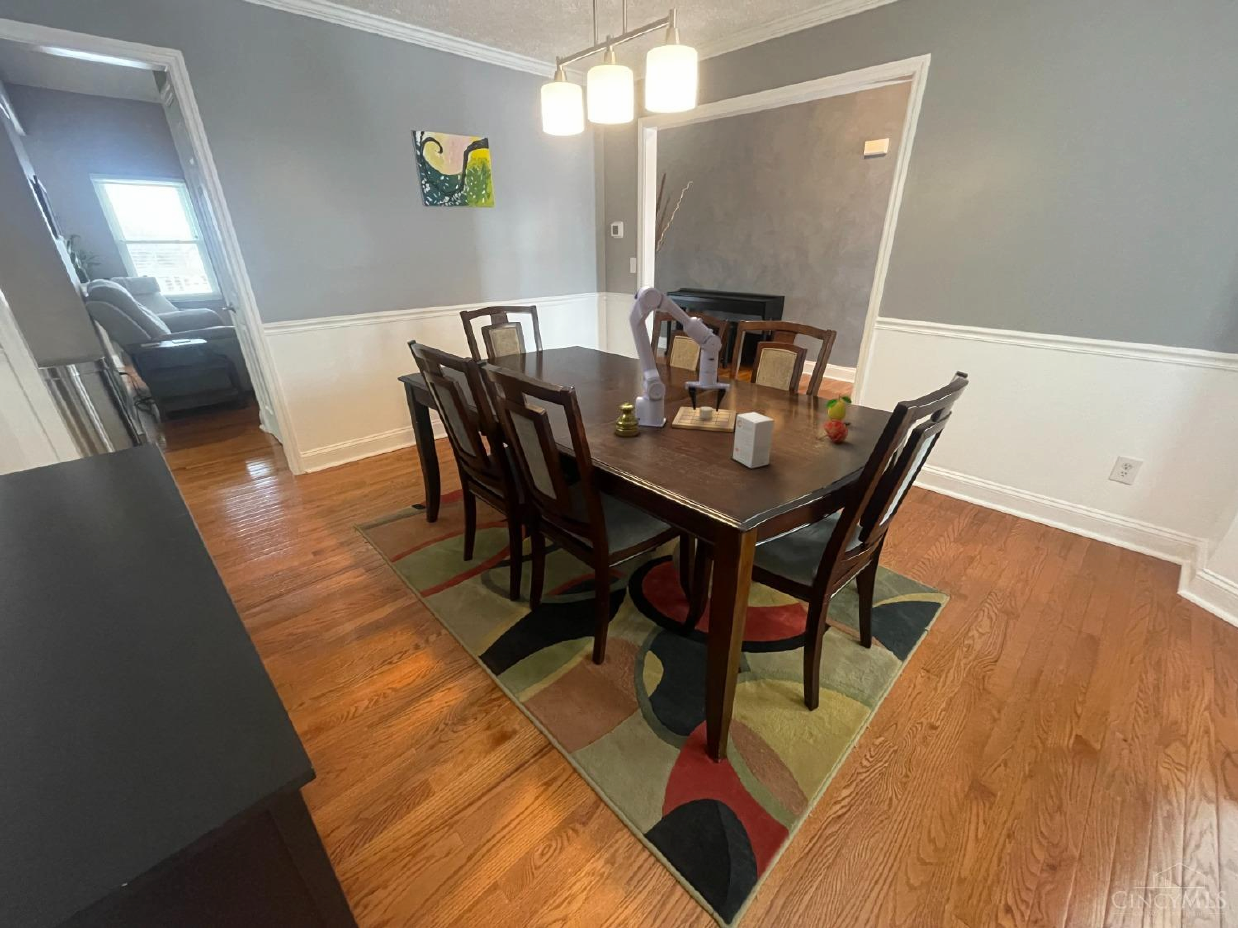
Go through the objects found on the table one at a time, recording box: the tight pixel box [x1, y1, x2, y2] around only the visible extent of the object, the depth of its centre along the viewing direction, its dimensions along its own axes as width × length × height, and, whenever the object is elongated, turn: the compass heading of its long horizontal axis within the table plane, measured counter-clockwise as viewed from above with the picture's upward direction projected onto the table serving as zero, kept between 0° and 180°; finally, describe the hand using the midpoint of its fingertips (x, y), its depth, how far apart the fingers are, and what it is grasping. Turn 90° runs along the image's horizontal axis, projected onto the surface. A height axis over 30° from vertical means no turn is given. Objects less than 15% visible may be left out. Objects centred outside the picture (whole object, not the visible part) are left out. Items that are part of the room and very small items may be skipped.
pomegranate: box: [819, 419, 852, 444], centre depth 149 cm, size 7×7×10 cm
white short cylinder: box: [699, 406, 714, 419], centre depth 168 cm, size 4×4×3 cm
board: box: [671, 406, 737, 433], centre depth 169 cm, size 20×20×1 cm
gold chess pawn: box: [615, 402, 640, 438], centre depth 156 cm, size 7×7×10 cm
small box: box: [732, 411, 775, 469], centre depth 134 cm, size 8×6×13 cm
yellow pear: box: [824, 394, 853, 421], centre depth 164 cm, size 7×6×10 cm
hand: (705, 410), depth 168 cm, fingers open, 7 cm apart
